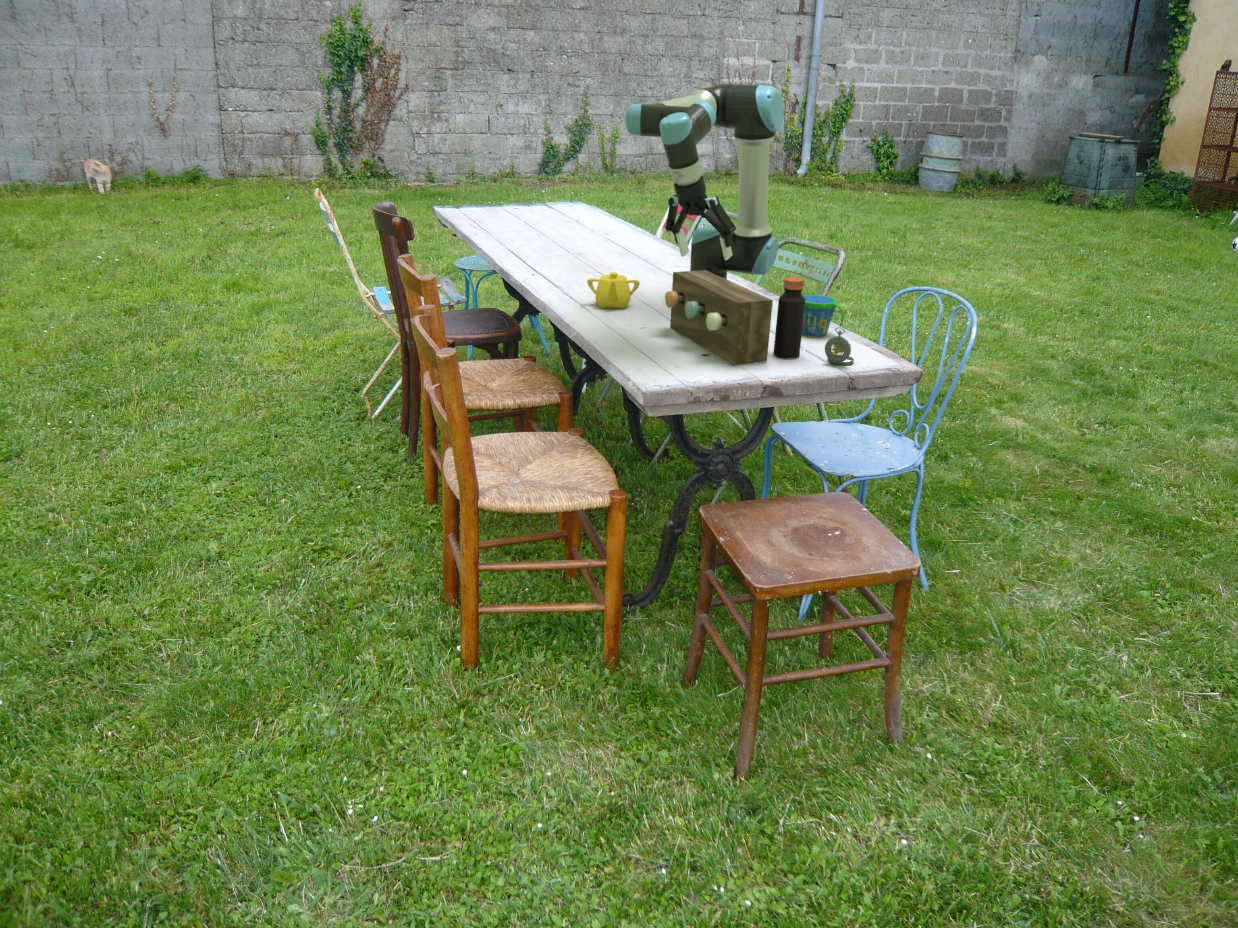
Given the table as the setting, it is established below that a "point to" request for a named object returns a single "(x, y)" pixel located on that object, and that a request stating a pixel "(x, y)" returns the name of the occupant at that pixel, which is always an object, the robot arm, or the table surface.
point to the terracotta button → (673, 299)
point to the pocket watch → (838, 349)
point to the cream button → (715, 321)
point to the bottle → (790, 319)
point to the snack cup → (819, 314)
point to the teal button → (693, 309)
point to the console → (740, 305)
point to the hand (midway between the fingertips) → (706, 256)
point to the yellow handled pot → (613, 290)
